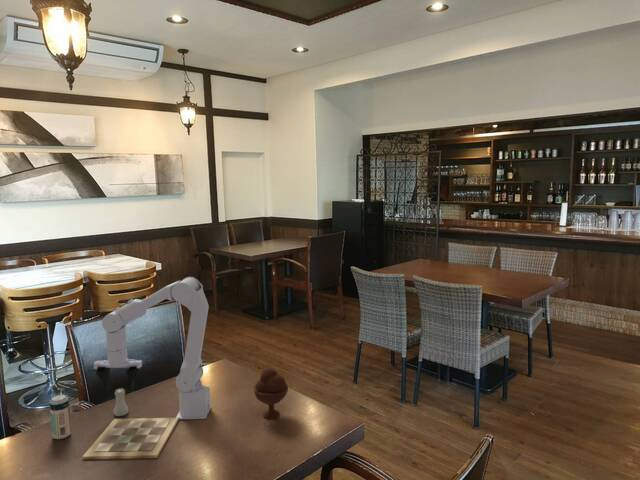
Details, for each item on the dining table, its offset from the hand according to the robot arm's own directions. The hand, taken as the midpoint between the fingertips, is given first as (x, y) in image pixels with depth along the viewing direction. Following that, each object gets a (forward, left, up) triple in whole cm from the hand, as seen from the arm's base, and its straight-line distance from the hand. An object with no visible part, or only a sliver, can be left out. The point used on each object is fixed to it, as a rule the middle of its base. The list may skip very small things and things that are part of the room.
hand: (119, 389), depth 146 cm
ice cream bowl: (-49, +3, -8) cm, 50 cm away
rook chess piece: (0, 0, -8) cm, 9 cm away
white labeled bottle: (+12, +13, -8) cm, 20 cm away
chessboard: (-10, +15, -8) cm, 20 cm away
